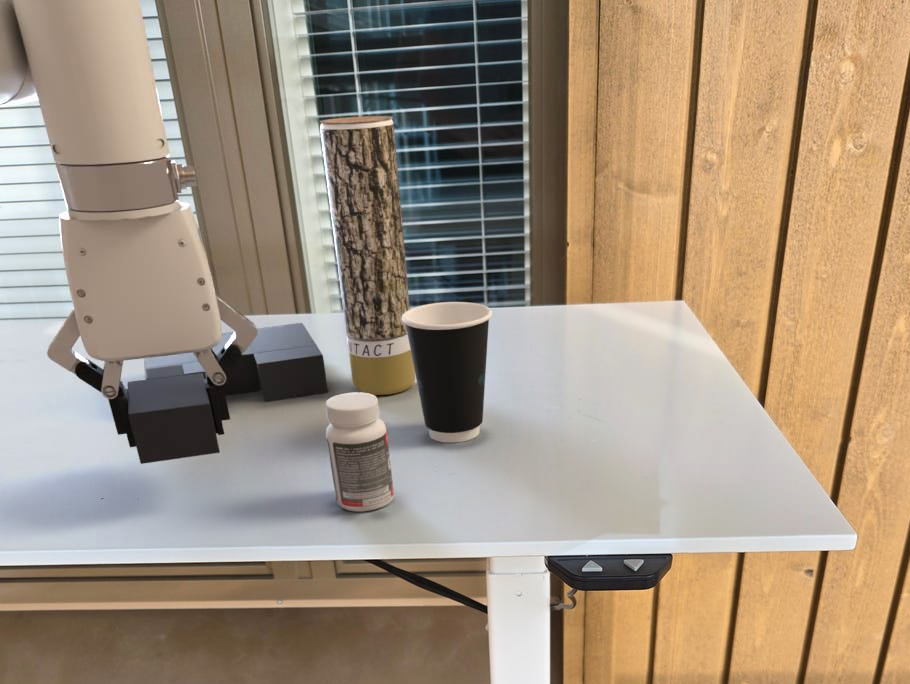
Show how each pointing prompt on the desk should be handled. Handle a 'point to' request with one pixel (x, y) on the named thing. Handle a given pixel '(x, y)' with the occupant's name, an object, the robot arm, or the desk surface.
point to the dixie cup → (450, 366)
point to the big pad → (265, 364)
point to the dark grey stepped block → (171, 415)
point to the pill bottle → (358, 452)
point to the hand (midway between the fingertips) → (176, 433)
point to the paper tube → (369, 249)
